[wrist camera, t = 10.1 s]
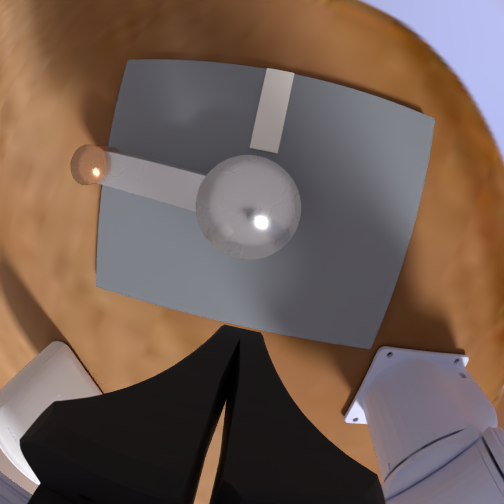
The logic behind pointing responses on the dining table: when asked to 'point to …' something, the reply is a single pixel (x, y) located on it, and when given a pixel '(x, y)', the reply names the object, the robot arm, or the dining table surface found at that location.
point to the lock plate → (307, 182)
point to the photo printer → (39, 396)
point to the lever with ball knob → (207, 195)
